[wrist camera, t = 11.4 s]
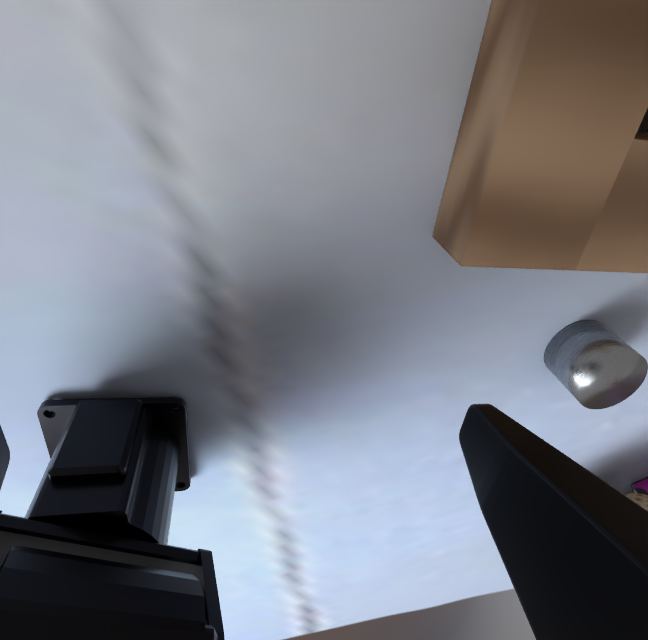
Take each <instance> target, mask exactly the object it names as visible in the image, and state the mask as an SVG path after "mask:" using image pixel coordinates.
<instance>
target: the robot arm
mask: <svg viewBox="0 0 648 640" xmlns="http://www.w3.org/2000/svg"><path fill="white" fill-rule="evenodd" d="M172 407H178V408H177V409H174V408H172ZM48 410H52V411H54V412H50V411H48ZM37 415H38V418H39V421H40V425H41V428H42V431H43V435H44V438H45V441H46V445H47V448H48V451H49V455H50V458H51V460H50V462H49V464H48V466H47V469H46V471H45V473H44V476H43V478H42V480H41V482H40V485H39V487H38V489H37V491H36V494H35V496H34V498H33V500H32V503H31V505H30V507H29V509H28V512H27V514H26V516H25V518H23V517H17V516H12V515H7V514H2V511H0V640H224V630H223V623H222V617H221V610H220V603H219V597H218V590H217V584H216V577H215V570H214V564H213V557H212V552H211V551H209V550H203V549H198V550H197V551H196V550H191V549H186V548H181V547H175V546H170V545H167V542H168V535H169V528H170V520H171V513H172V506H173V499H174V492H175V491H184V490H186V489H188V488H189V487H190V481H191V474H190V459H189V443H188V427H187V411H186V403H185V401H184V400H183V399H181V398H177V397H162V398H116V399H71V400H47V401H44V402H43V403H42V404H41V406H40V407H39V409H38V411H37ZM459 440H460V445H461V448H462V451H463V454H464V457H465V461H466V464H467V467H468V470H469V474H470V477H471V480H472V483H473V486H474V490H475V493H476V496H477V499H478V502H479V505H480V508H481V510H482V513H483V515H484V518H485V520H486V523H487V525H488V527H489V530H490V532H491V535H492V537H493V539H494V542H495V544H496V546H497V549H498V551H499V553H500V556H501V558H502V560H503V563H504V565H505V567H506V570H507V572H508V574H509V577H510V579H511V581H512V584H513V586H514V588H515V591H516V593H517V595H518V598H519V600H520V602H521V605H522V607H523V610H524V612H525V614H526V617H527V619H528V621H529V624H530V626H531V628H532V631H533V633H534V635H535V638H536V640H648V511H647V510H646V509H644V508H643V507H641V506H640V505H638V504H637V503H635V502H634V501H632V500H631V499H629V498H628V497H626V496H625V495H624V494H622V493H621V492H619V491H618V490H616V489H615V488H613V487H612V486H610V485H609V484H607V483H606V482H604V481H603V480H601V479H600V478H598V477H597V476H596V475H594V474H593V473H591V472H590V471H588V470H587V469H585V468H584V467H582V466H581V465H579V464H578V463H576V462H575V461H573V460H572V459H571V458H569V457H568V456H566V455H565V454H563V453H562V452H560V451H559V450H557V449H556V448H554V447H553V446H551V445H550V444H548V443H547V442H545V441H544V440H543V439H541V438H540V437H538V436H537V435H535V434H534V433H532V432H531V431H529V430H528V429H526V428H525V427H523V426H522V425H520V424H519V423H518V422H516V421H515V420H513V419H512V418H510V417H509V416H507V415H506V414H504V413H503V412H501V411H500V410H498V409H497V408H495V407H494V406H492V405H490V404H473V405H471V406H470V407H469V408H468V410H467V413H466V416H465V418H464V421H463V424H462V426H461V429H460V433H459ZM9 460H10V451H9V448H8V445H7V442H6V439H5V437H4V434H3V431H2V428H1V426H0V489H1V486H2V483H3V480H4V477H5V474H6V471H7V468H8V464H9Z"/></svg>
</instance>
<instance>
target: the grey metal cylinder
mask: <svg viewBox="0 0 648 640" xmlns="http://www.w3.org/2000/svg"><path fill="white" fill-rule="evenodd" d="M544 362H545V365H546V366H547V368H548V369H549V370H550V371H551V372H552V373H553V374H554V375H555V376H556V377H557V379H558V380H559V381H560V382H561V383H562V384H563V385H564V386H565V387H566V388H567V389H568V390H569V391H570V393H571V394H572V395H573V396H574V397H575V398H576V399H577V400H578V401H579V402H580V403H581V404H582V405H583V406H584V407H586V408H589V409H603V408H607V407H611V406H613V405H616V404H618V403H620V402H622V401H623V400H625V399H626V398H628V397H629V396H630V395H632V394H633V393H634V392H635V391H636V390H637V389H638V388H639V387H640V385H641V384H642V382H643V381H644V379H645V377H646V375H647V370H648V365H647V361H646V360H645V358H644V357H642V356H641V355H640V354H639V353H637V352H636V351H635V350H634V349H632V348H631V347H630V346H629V345H627V344H626V343H625V342H624V341H622V340H621V339H620V338H619V337H617V336H616V335H615V334H613V333H612V332H611V331H610V330H608V329H607V328H606V327H605V326H603V325H602V324H601V323H599V322H597V321H594V320H583V321H578V322H575V323H573V324H570V325H568V326H567V327H565V328H563V329H562V330H561V331H559V332H558V333H557V334H556V335H555V336H554V337H553V338H552V339H551V341H550V342H549V344H548V345H547V347H546V350H545V353H544Z"/></svg>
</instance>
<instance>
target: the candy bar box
mask: <svg viewBox="0 0 648 640" xmlns="http://www.w3.org/2000/svg"><path fill="white" fill-rule="evenodd" d="M632 489H633V490H632V491H633V493H639V494H645V495H648V478H647V479H644V480H642V481H640V482H638V483H635V484H634V485H632Z"/></svg>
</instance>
